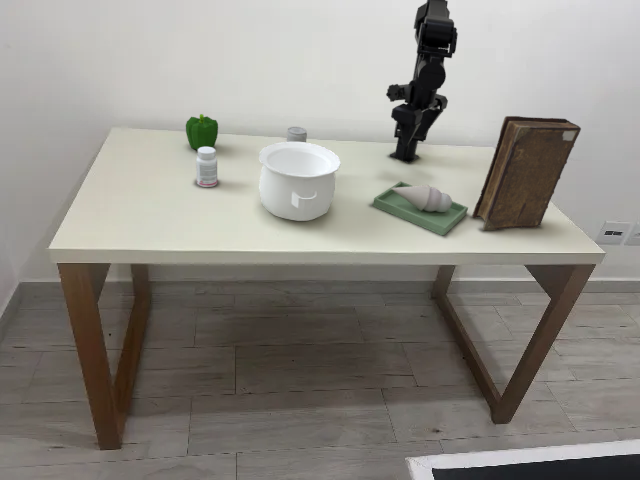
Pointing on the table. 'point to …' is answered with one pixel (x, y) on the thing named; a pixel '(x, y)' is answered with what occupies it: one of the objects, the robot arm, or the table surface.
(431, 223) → the tray
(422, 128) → the robot arm
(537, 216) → the book
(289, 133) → the beverage can
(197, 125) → the bell pepper
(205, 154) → the pill bottle
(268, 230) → the table surface
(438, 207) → the ice cream cone
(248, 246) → the table surface
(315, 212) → the pot
